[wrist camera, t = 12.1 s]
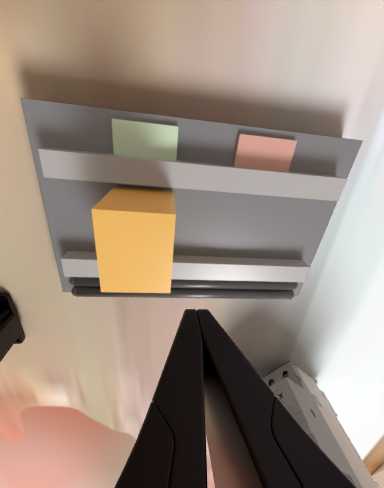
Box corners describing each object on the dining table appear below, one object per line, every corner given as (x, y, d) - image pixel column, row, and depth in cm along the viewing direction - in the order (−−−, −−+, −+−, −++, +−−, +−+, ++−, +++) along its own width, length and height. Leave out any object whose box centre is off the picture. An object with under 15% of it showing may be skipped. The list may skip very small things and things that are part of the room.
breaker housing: (72, 277, 20) (56, 301, 17) (39, 102, 14) (6, 94, 11) (288, 282, 23) (305, 303, 20) (342, 139, 17) (377, 141, 14)
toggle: (118, 250, 17) (100, 292, 12) (114, 186, 14) (91, 208, 10) (169, 252, 17) (170, 293, 13) (173, 190, 15) (175, 214, 11)
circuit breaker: (264, 342, 27) (355, 538, 14) (316, 381, 33) (416, 548, 20) (221, 371, 29) (264, 567, 16) (277, 403, 35) (344, 569, 22)
